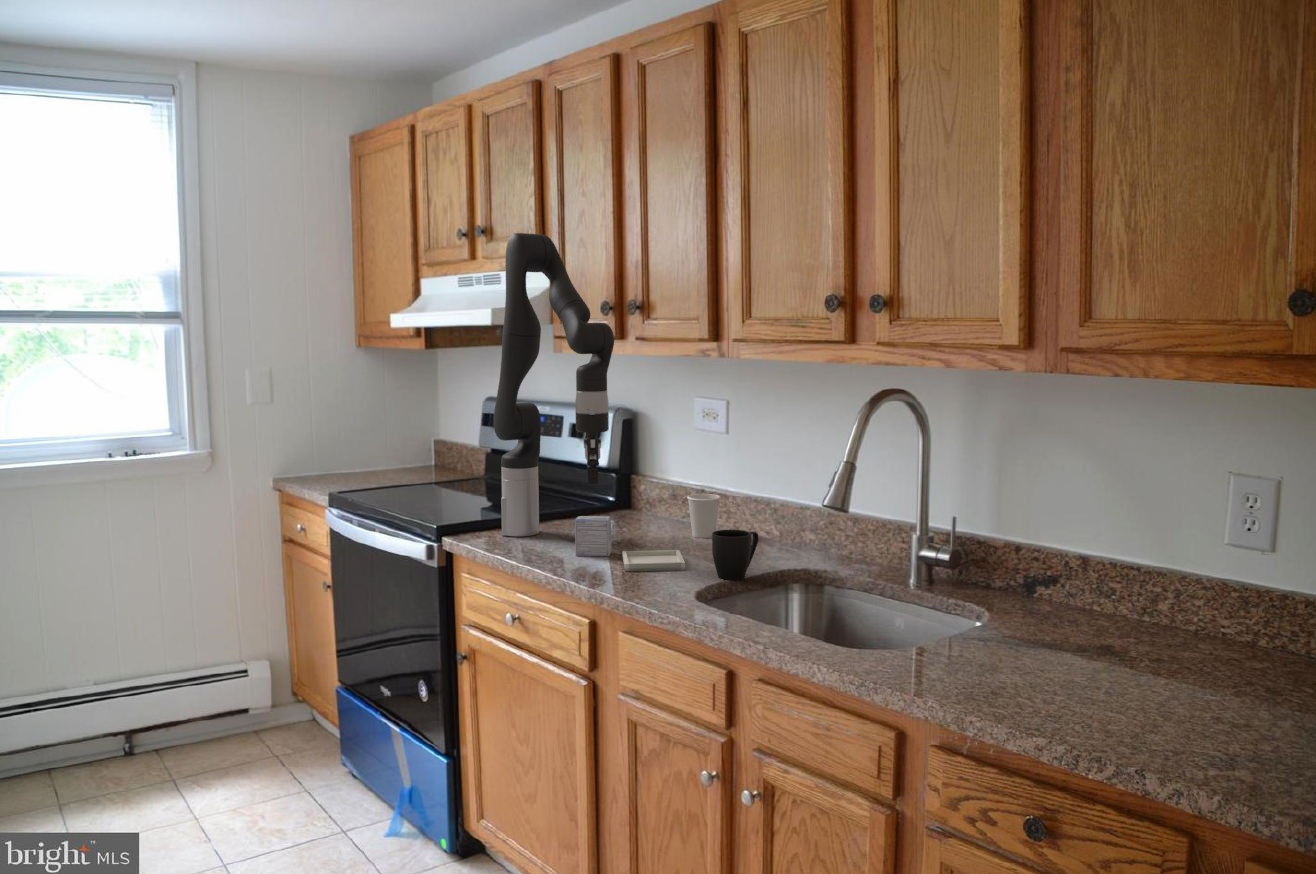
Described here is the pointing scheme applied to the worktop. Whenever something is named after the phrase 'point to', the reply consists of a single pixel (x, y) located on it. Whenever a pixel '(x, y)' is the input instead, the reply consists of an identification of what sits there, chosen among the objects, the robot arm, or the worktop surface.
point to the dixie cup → (703, 514)
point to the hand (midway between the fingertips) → (592, 481)
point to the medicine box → (593, 536)
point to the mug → (733, 552)
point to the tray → (653, 560)
